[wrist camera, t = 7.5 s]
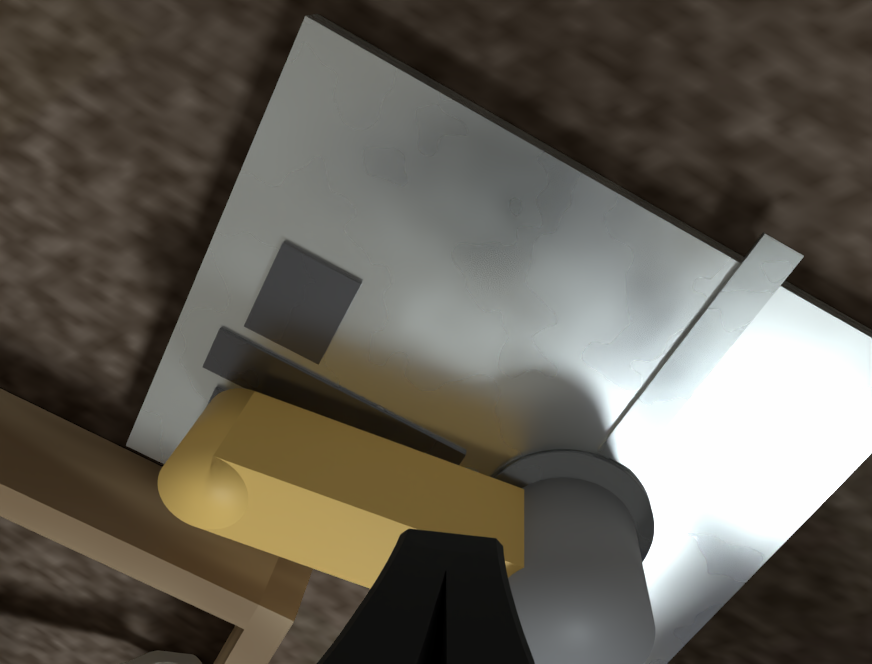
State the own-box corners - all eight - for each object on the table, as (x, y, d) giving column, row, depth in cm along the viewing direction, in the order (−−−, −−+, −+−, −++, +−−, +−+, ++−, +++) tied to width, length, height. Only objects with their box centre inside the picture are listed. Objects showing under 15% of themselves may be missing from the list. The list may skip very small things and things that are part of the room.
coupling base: (633, 665, 23) (638, 699, 22) (142, 425, 22) (121, 449, 20) (948, 332, 18) (975, 355, 17) (332, -23, 16) (319, -23, 15)
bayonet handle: (661, 507, 19) (685, 602, 16) (598, 608, 21) (610, 712, 18) (224, 347, 18) (168, 416, 16) (193, 463, 20) (137, 546, 17)
